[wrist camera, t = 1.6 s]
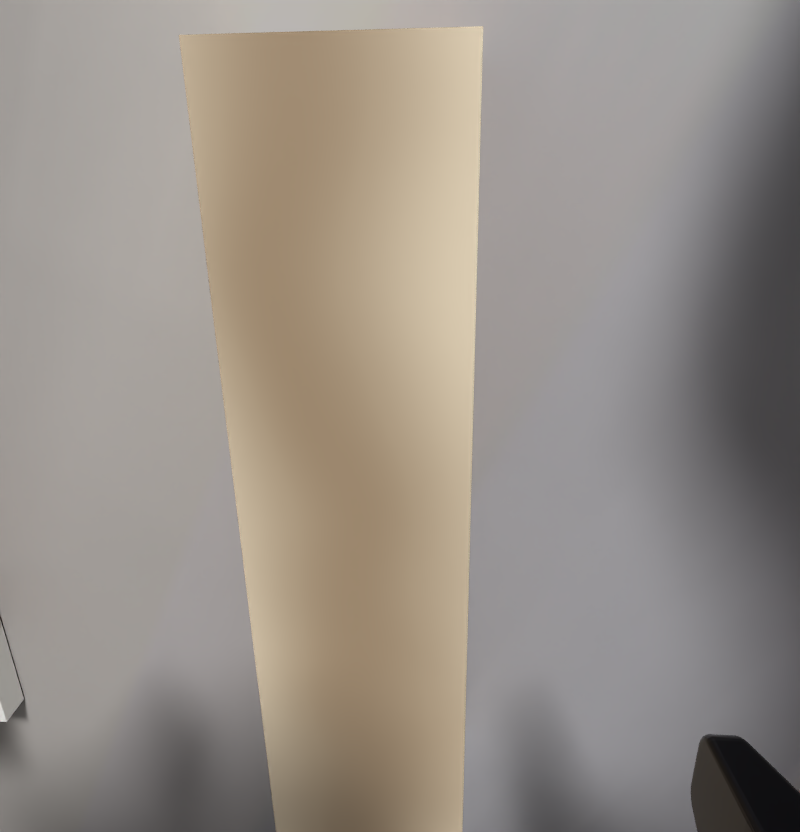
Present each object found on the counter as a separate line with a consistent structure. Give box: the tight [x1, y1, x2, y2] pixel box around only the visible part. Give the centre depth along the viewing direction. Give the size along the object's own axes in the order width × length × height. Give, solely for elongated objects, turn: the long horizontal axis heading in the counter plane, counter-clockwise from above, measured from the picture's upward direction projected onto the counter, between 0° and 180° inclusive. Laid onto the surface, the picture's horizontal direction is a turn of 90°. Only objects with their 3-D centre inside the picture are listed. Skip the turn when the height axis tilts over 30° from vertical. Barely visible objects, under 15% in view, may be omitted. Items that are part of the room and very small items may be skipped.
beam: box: [179, 26, 483, 832], centre depth 14 cm, size 4×16×4 cm, turn 1°
